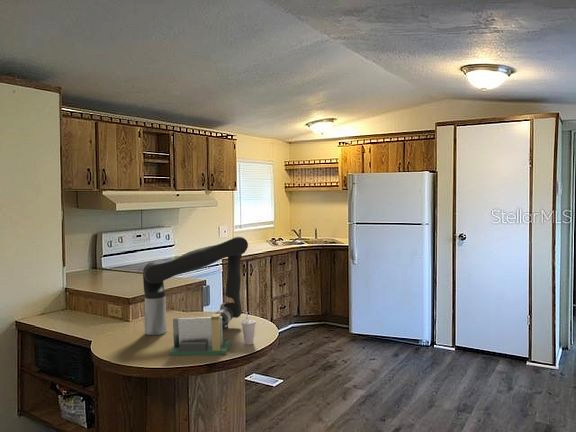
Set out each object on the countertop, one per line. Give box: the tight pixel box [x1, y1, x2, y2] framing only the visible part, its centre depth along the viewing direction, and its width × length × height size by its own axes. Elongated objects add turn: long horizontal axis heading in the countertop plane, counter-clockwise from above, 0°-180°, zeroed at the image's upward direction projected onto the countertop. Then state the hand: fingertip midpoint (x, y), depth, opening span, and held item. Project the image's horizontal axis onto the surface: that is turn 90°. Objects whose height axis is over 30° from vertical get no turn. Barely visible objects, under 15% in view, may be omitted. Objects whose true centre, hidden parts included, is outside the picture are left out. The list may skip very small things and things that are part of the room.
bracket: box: [169, 313, 232, 356], centre depth 207 cm, size 23×14×16 cm, turn 88°
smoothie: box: [240, 311, 257, 346], centre depth 213 cm, size 6×6×14 cm
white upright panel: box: [172, 316, 224, 348], centre depth 205 cm, size 20×2×12 cm, turn 94°
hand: (207, 331), depth 206 cm, fingers closed
